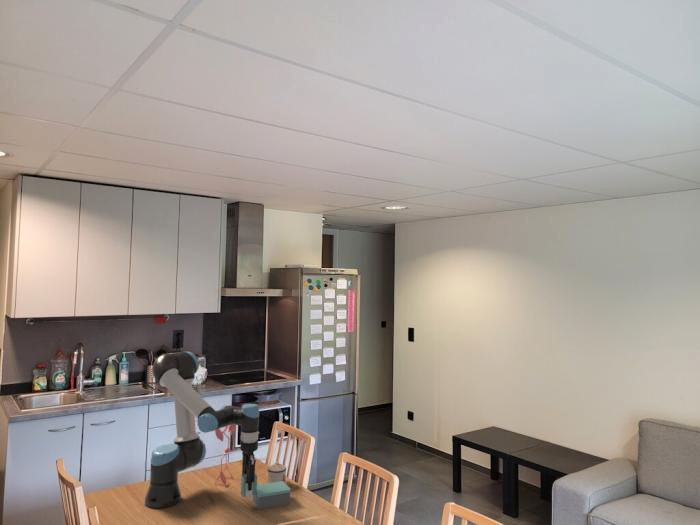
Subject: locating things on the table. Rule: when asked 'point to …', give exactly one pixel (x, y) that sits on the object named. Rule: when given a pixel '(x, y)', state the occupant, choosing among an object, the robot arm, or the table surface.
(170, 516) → the table surface
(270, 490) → the lid
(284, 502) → the tub
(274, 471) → the teacup with lid
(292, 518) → the table surface
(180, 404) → the robot arm
